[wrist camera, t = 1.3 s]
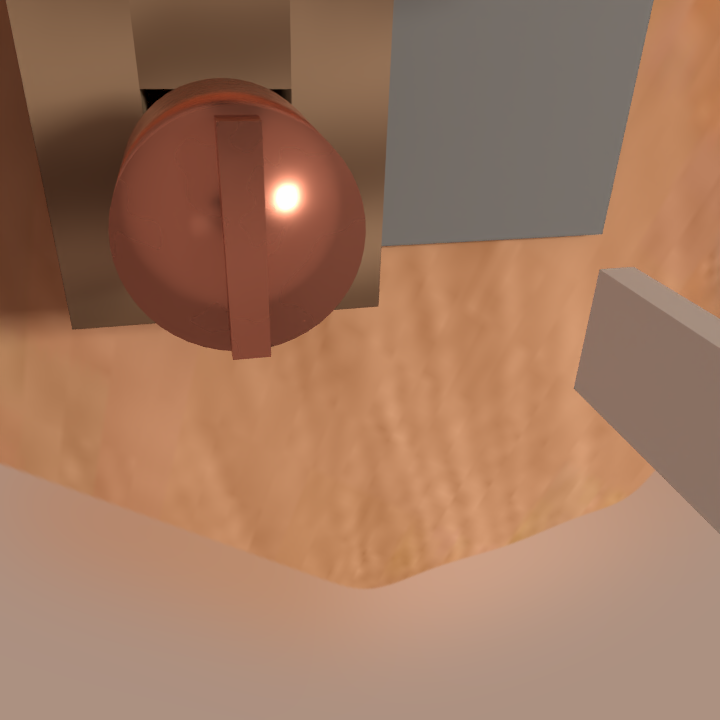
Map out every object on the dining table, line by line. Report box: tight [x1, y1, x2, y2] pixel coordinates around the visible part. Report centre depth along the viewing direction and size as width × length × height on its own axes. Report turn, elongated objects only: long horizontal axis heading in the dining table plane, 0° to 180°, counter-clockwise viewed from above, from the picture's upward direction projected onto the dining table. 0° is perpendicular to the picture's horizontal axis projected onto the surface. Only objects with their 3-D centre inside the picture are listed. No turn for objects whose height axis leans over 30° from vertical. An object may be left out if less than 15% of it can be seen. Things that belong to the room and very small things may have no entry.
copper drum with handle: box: [108, 78, 366, 360], centre depth 22 cm, size 6×6×14 cm
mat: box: [381, 0, 654, 246], centre depth 30 cm, size 12×12×1 cm
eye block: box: [6, 0, 394, 329], centre depth 26 cm, size 12×12×5 cm
